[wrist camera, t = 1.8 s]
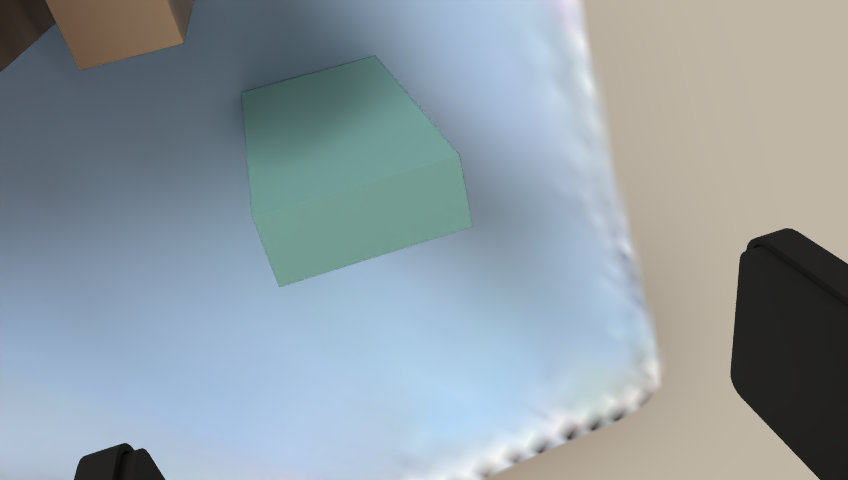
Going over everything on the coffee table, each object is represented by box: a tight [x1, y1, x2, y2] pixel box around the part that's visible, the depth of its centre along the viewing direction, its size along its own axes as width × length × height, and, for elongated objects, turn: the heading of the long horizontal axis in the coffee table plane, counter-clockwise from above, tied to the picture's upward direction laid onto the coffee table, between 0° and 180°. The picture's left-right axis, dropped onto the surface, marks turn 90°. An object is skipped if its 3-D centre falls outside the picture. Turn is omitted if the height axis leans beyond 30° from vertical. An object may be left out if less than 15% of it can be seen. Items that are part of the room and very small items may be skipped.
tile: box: [241, 56, 472, 287], centre depth 20 cm, size 2×5×10 cm, turn 102°
